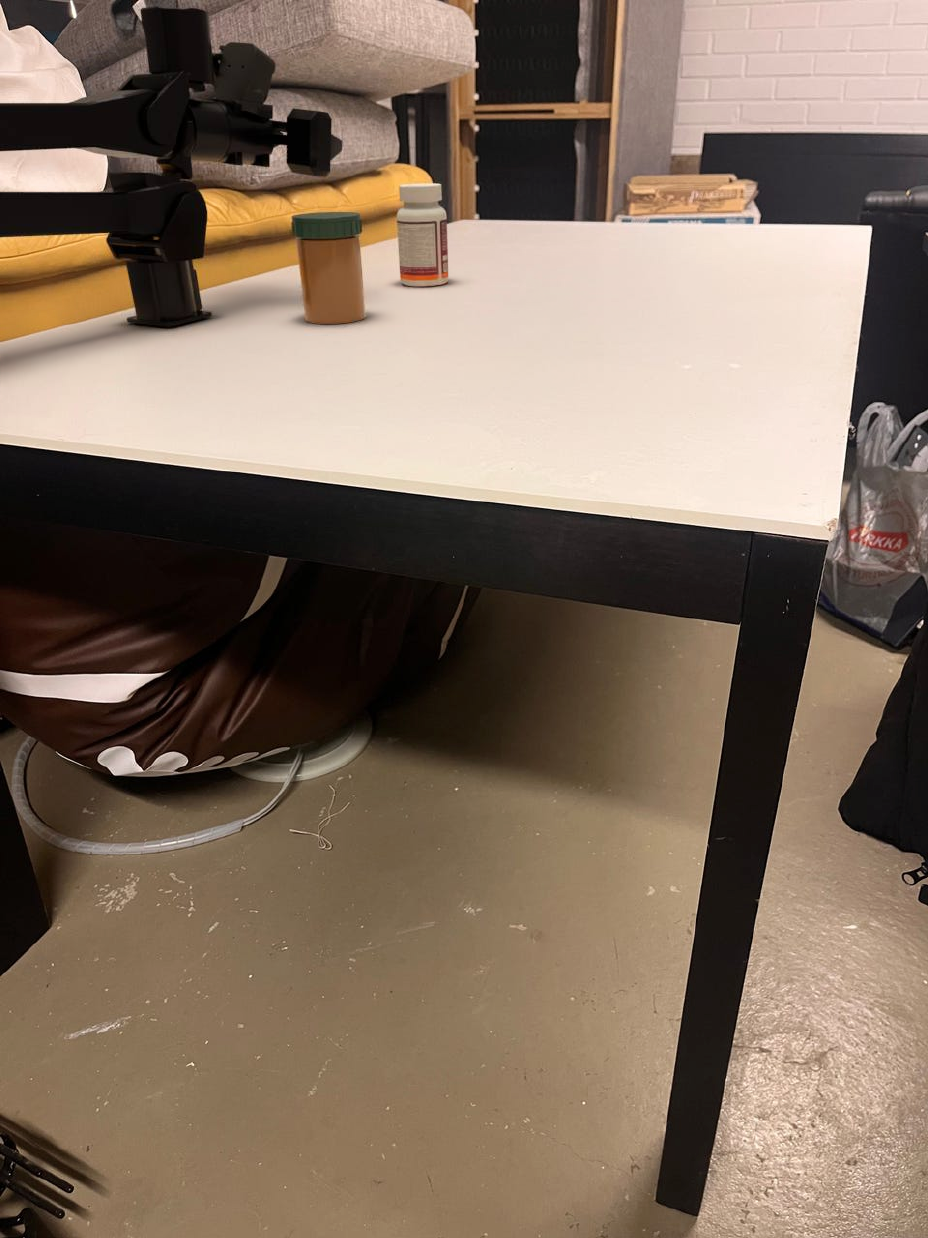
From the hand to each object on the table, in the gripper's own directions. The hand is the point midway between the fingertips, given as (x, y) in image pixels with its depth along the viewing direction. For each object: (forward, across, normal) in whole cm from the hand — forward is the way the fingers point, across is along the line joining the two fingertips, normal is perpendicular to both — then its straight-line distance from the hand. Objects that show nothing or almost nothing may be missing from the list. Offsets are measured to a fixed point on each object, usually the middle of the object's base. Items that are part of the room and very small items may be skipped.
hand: (311, 141), depth 104 cm
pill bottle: (+8, -12, +15) cm, 21 cm away
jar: (-15, -17, +16) cm, 28 cm away
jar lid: (-16, -16, +6) cm, 23 cm away
